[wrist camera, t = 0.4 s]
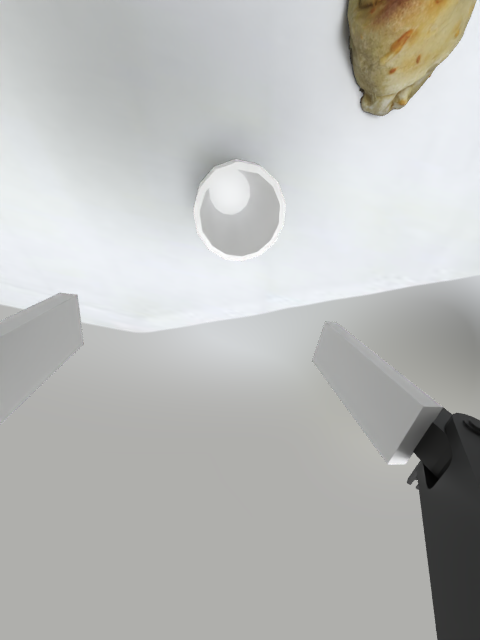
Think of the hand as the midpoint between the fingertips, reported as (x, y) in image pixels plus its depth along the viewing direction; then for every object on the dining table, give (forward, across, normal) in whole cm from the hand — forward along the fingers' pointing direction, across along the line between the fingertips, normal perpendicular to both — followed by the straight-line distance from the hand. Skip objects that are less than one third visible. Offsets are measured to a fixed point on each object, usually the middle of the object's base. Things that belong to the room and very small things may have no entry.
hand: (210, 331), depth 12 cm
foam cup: (+26, +2, +10) cm, 28 cm away
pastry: (+22, +17, +28) cm, 40 cm away
